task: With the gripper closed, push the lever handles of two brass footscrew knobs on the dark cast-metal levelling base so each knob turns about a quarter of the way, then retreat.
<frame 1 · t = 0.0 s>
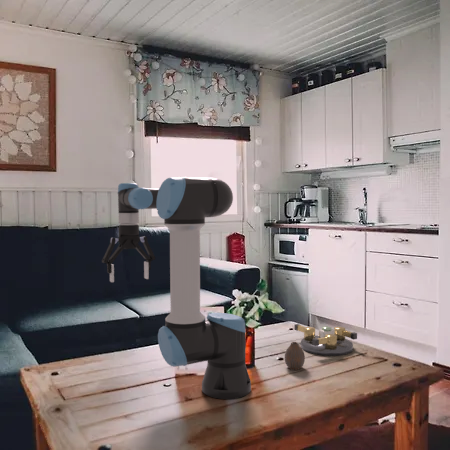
hand: (129, 280, 180), 28 cm above the table, fingers open, 13 cm apart
knob a: (304, 332, 192), point 5 cm above the table, hinge at 0.0°
brass elongated piece: (345, 335, 187), point 5 cm above the table, hinge at 0.0°
levelling base: (326, 347, 186), on the table
brown egg-shaped piece: (294, 368, 164), on the table
knob b: (324, 342, 178), point 5 cm above the table, hinge at 0.0°
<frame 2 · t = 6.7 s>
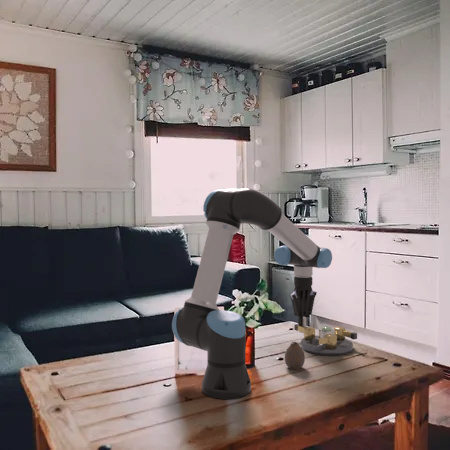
hand: (302, 332, 196), 3 cm above the table, fingers closed
knob a: (304, 332, 192), point 5 cm above the table, hinge at 0.3°, touching gripper
everything else where it was.
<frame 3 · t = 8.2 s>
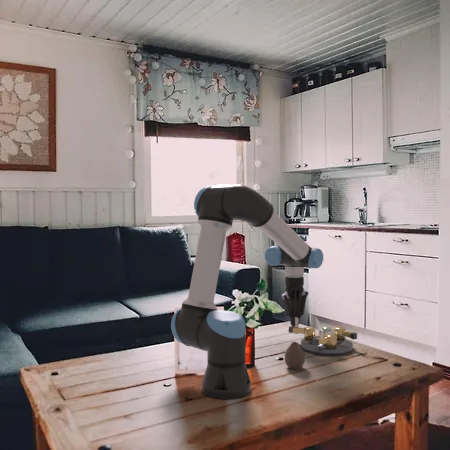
hand: (295, 333, 194), 4 cm above the table, fingers closed
knob a: (302, 333, 191), point 5 cm above the table, hinge at 35.2°, touching gripper
everything else where it was.
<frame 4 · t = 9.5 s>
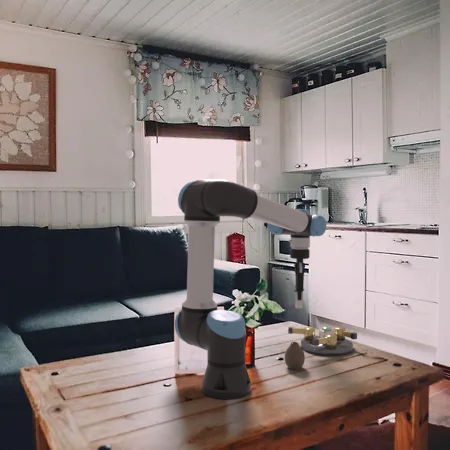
hand: (299, 307, 187), 16 cm above the table, fingers closed
knob a: (301, 333, 190), point 5 cm above the table, hinge at 45.1°
everything else where it was.
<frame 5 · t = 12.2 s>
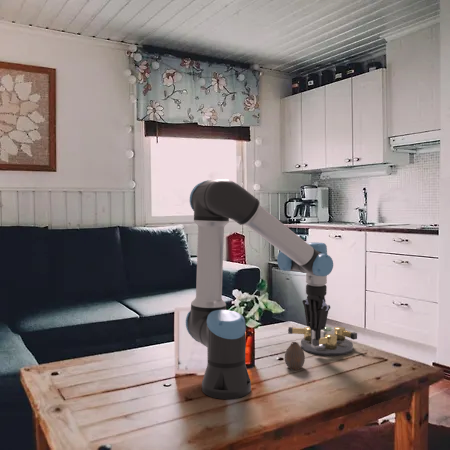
hand: (315, 346, 177), 3 cm above the table, fingers closed
knob a: (301, 333, 190), point 5 cm above the table, hinge at 45.7°
knob b: (324, 342, 178), point 5 cm above the table, hinge at 0.2°, touching gripper
everything else where it was.
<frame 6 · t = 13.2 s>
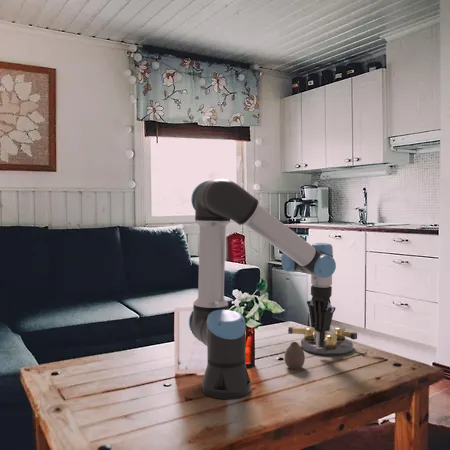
hand: (319, 348, 175), 3 cm above the table, fingers closed
knob b: (327, 343, 177), point 5 cm above the table, hinge at 23.5°, touching gripper
everything else where it was.
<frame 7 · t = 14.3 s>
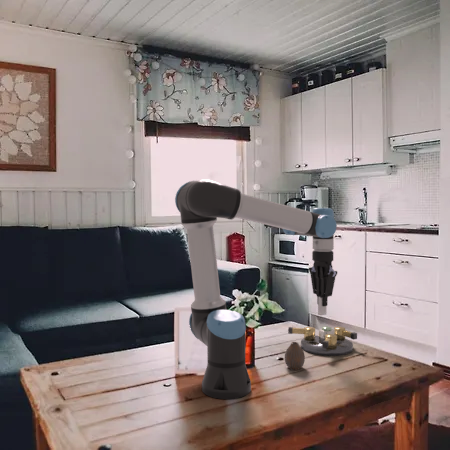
hand: (322, 314, 173), 16 cm above the table, fingers closed
knob b: (328, 343, 177), point 5 cm above the table, hinge at 31.9°
everything else where it was.
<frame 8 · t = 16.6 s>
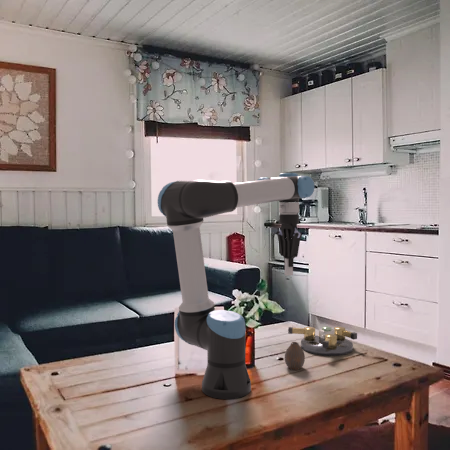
hand: (288, 275, 182), 29 cm above the table, fingers closed
knob b: (328, 343, 176), point 5 cm above the table, hinge at 32.5°
everything else where it was.
at the end: knob a at +46° (first picture: +0°); knob b at +32° (first picture: +0°) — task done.
